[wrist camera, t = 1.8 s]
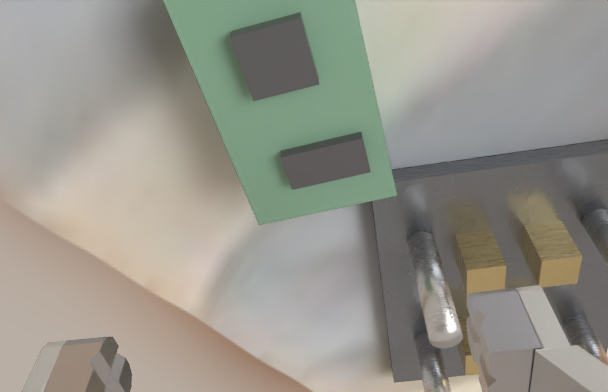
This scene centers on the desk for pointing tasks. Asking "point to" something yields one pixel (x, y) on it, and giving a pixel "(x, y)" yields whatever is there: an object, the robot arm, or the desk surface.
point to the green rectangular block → (289, 100)
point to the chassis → (492, 251)
